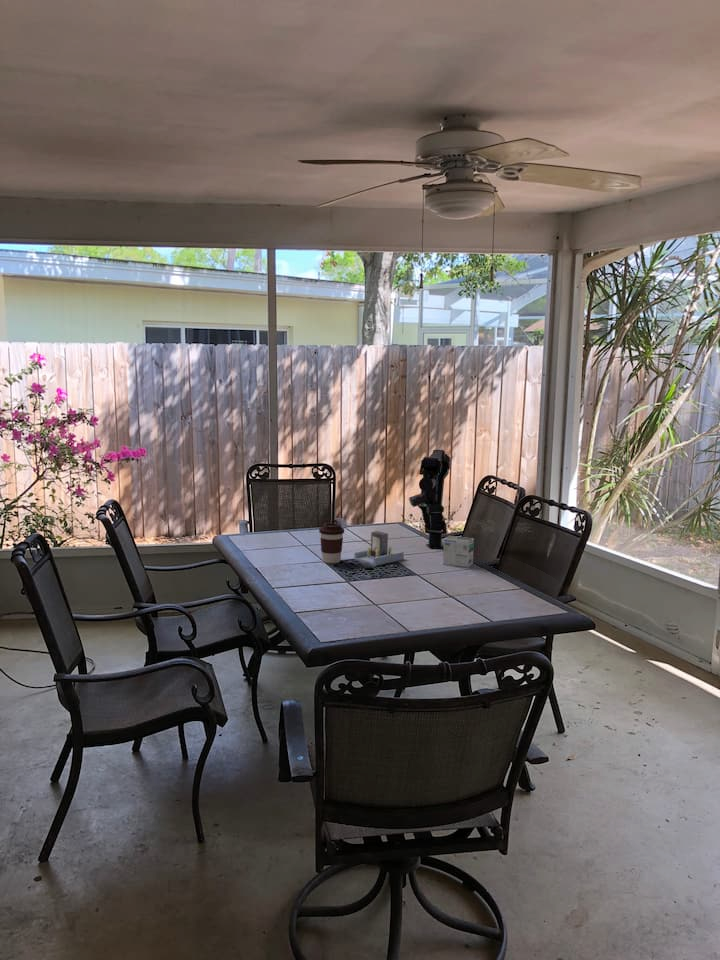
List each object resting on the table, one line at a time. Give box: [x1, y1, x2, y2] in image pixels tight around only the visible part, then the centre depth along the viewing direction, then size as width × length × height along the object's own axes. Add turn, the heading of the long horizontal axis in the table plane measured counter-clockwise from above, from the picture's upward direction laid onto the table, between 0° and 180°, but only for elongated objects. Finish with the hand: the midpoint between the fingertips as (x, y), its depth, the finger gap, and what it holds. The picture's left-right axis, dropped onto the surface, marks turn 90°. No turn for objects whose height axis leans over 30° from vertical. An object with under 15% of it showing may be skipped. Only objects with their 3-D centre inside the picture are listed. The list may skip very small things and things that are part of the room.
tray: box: [354, 546, 404, 567], centre depth 307 cm, size 16×12×5 cm
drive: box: [370, 530, 389, 557], centre depth 307 cm, size 4×6×10 cm, turn 43°
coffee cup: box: [318, 522, 345, 564], centre depth 302 cm, size 10×10×15 cm
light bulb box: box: [442, 535, 475, 568], centre depth 302 cm, size 11×7×11 cm, turn 65°
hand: (429, 525), depth 312 cm, fingers open, 9 cm apart
